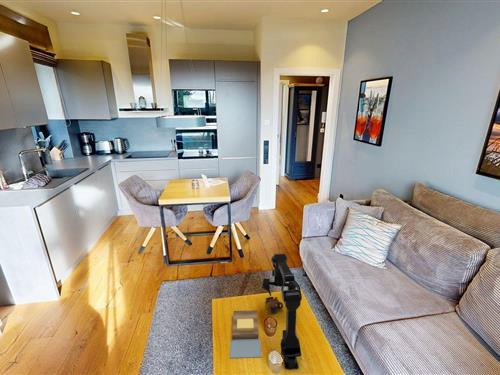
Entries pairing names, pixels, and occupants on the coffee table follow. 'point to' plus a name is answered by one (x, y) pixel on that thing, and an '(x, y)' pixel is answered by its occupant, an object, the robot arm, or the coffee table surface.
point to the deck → (245, 334)
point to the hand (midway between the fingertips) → (278, 296)
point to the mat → (245, 348)
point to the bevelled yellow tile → (245, 325)
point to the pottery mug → (273, 305)
